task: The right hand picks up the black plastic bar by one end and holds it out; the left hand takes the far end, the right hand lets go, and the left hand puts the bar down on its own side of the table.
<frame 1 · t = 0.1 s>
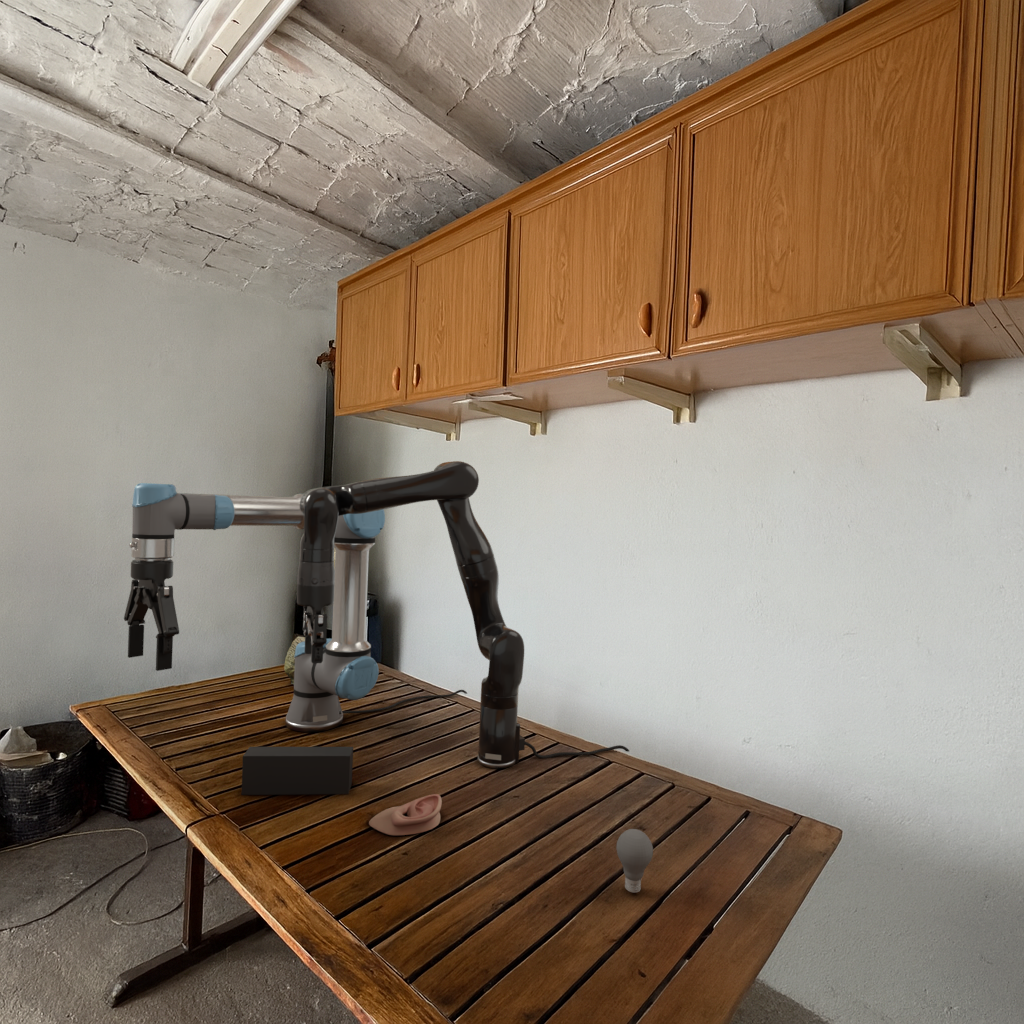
left hand: (149, 662, 129), 28 cm above the table, tool pointing down, fingers open, 13 cm apart
right hand: (313, 657, 135), 29 cm above the table, tool pointing down, fingers open, 8 cm apart
light bulb: (632, 891, 106), on the table
anatomical model: (405, 822, 125), on the table
fossil: (312, 681, 215), on the table
bar: (298, 789, 137), on the table
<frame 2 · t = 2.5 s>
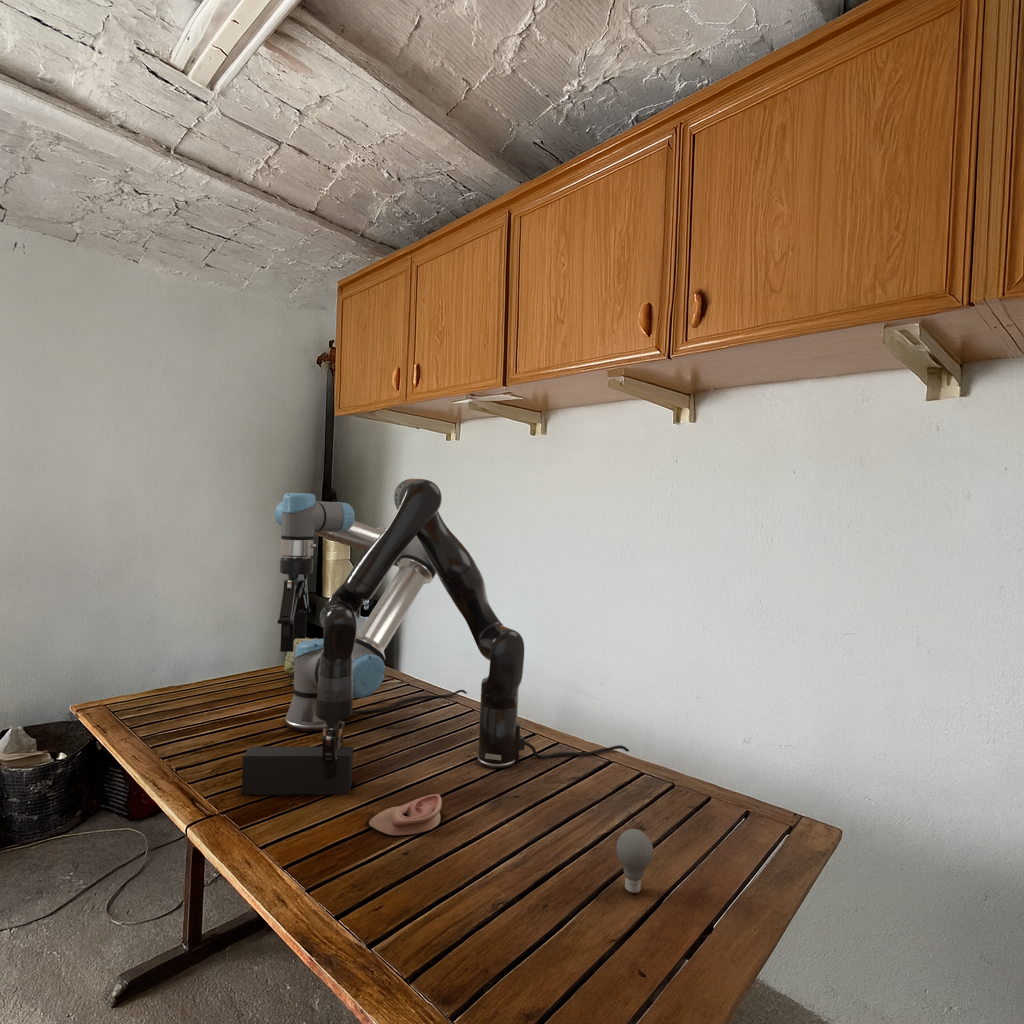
left hand: (293, 644, 153), 27 cm above the table, tool pointing down, fingers open, 13 cm apart
right hand: (332, 771, 137), 4 cm above the table, tool pointing down, fingers closed on bar, 5 cm apart
bar: (298, 789, 137), on the table, touching right hand
everything else where it was.
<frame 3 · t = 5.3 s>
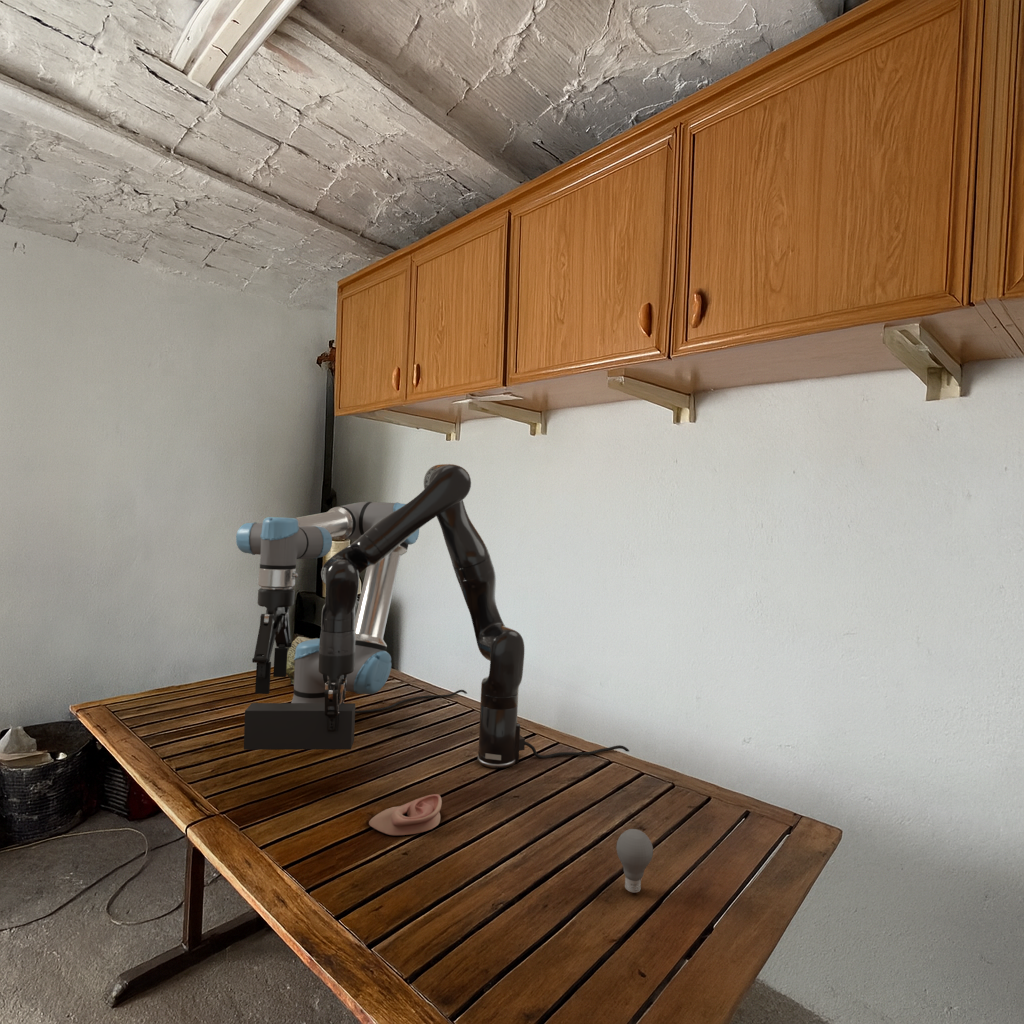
left hand: (271, 684, 139), 22 cm above the table, tool pointing down, fingers open, 13 cm apart
right hand: (334, 727, 137), 13 cm above the table, tool pointing down, fingers closed on bar, 5 cm apart
bar: (300, 744, 137), point 10 cm above the table, touching right hand
everything else where it was.
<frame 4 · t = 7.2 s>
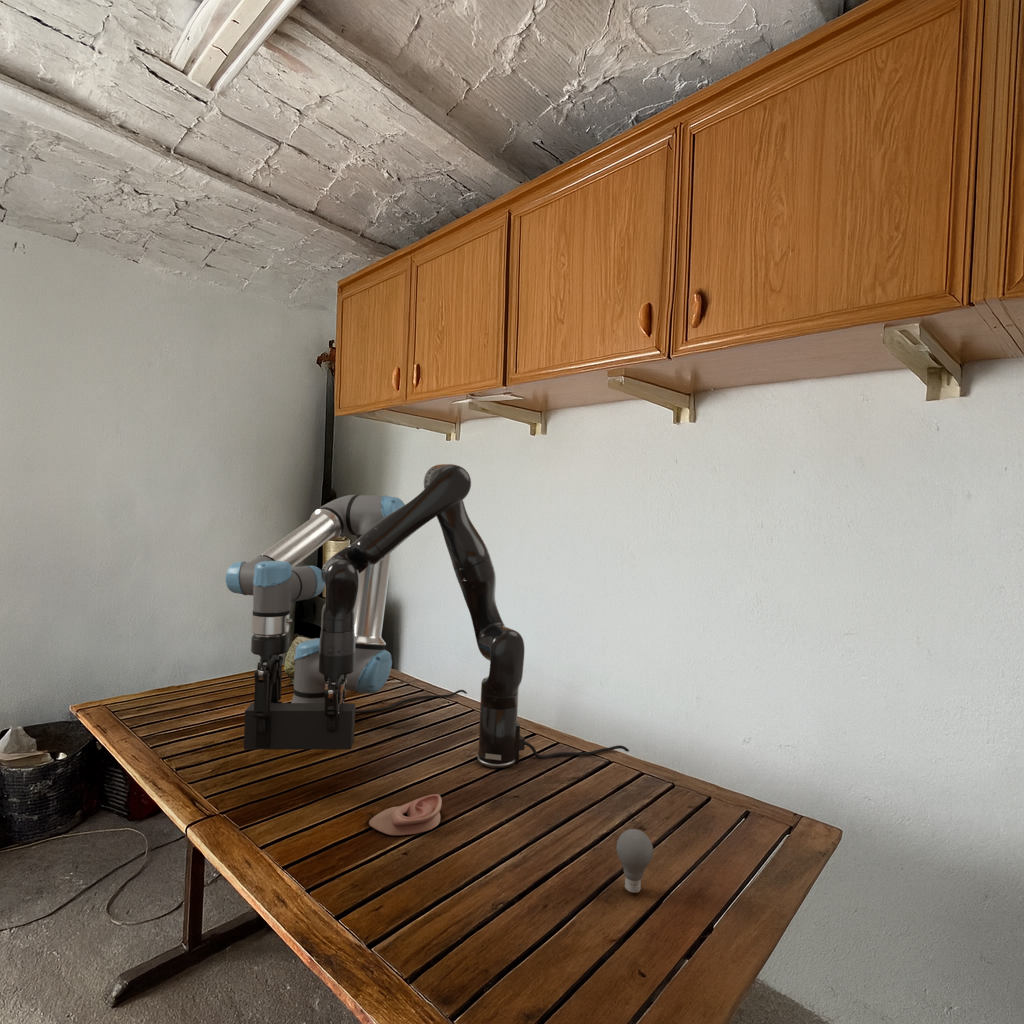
left hand: (266, 741, 136), 10 cm above the table, tool pointing down, fingers closed on bar, 5 cm apart
right hand: (334, 727, 137), 13 cm above the table, tool pointing down, fingers closed on bar, 5 cm apart
bar: (300, 744, 137), point 10 cm above the table, touching left hand, right hand
everything else where it was.
when the right hand's fingers open (13 cm above the table, at t = 8.0 s): bar stays where it is, held by the left hand.
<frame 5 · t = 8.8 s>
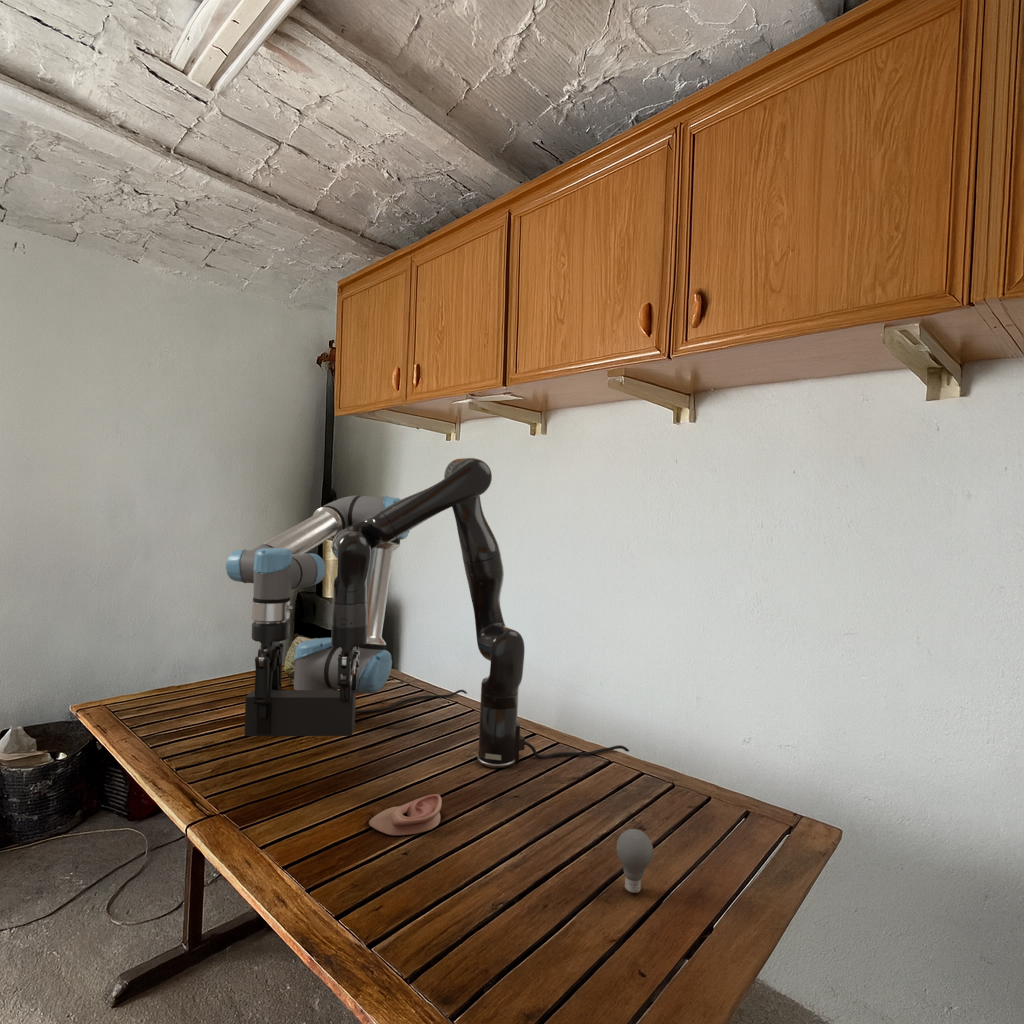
left hand: (267, 728, 136), 13 cm above the table, tool pointing down, fingers closed on bar, 5 cm apart
right hand: (348, 696, 138), 20 cm above the table, tool pointing down, fingers open, 8 cm apart
bar: (301, 731, 137), point 12 cm above the table, touching left hand
everything else where it was.
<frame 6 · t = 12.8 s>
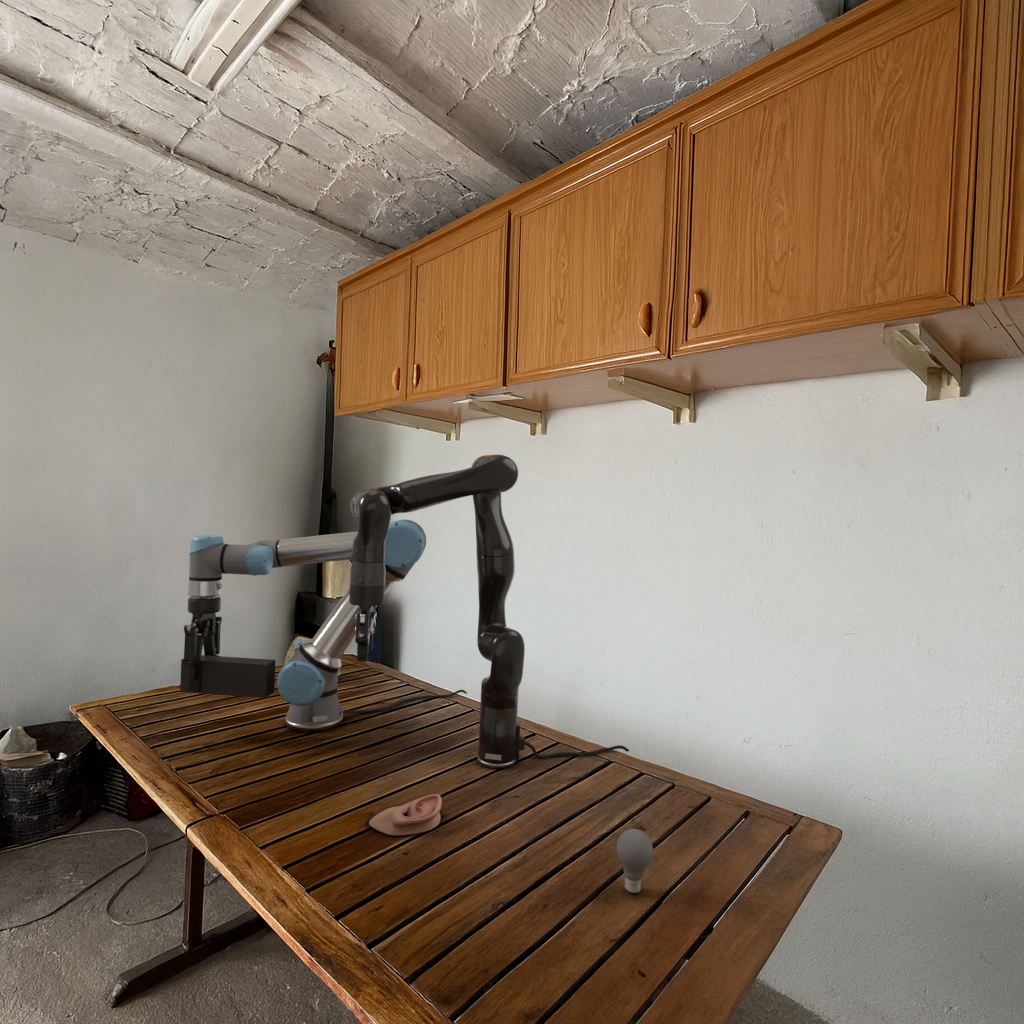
left hand: (201, 687, 161), 13 cm above the table, tool pointing down, fingers closed on bar, 5 cm apart
right hand: (364, 656, 138), 29 cm above the table, tool pointing down, fingers open, 8 cm apart
bar: (227, 692, 160), point 13 cm above the table, touching left hand
everything else where it was.
when the left hand's fingers open (2 cm above the table, at t = 18.3 s): bar drops 1 cm, on the table.
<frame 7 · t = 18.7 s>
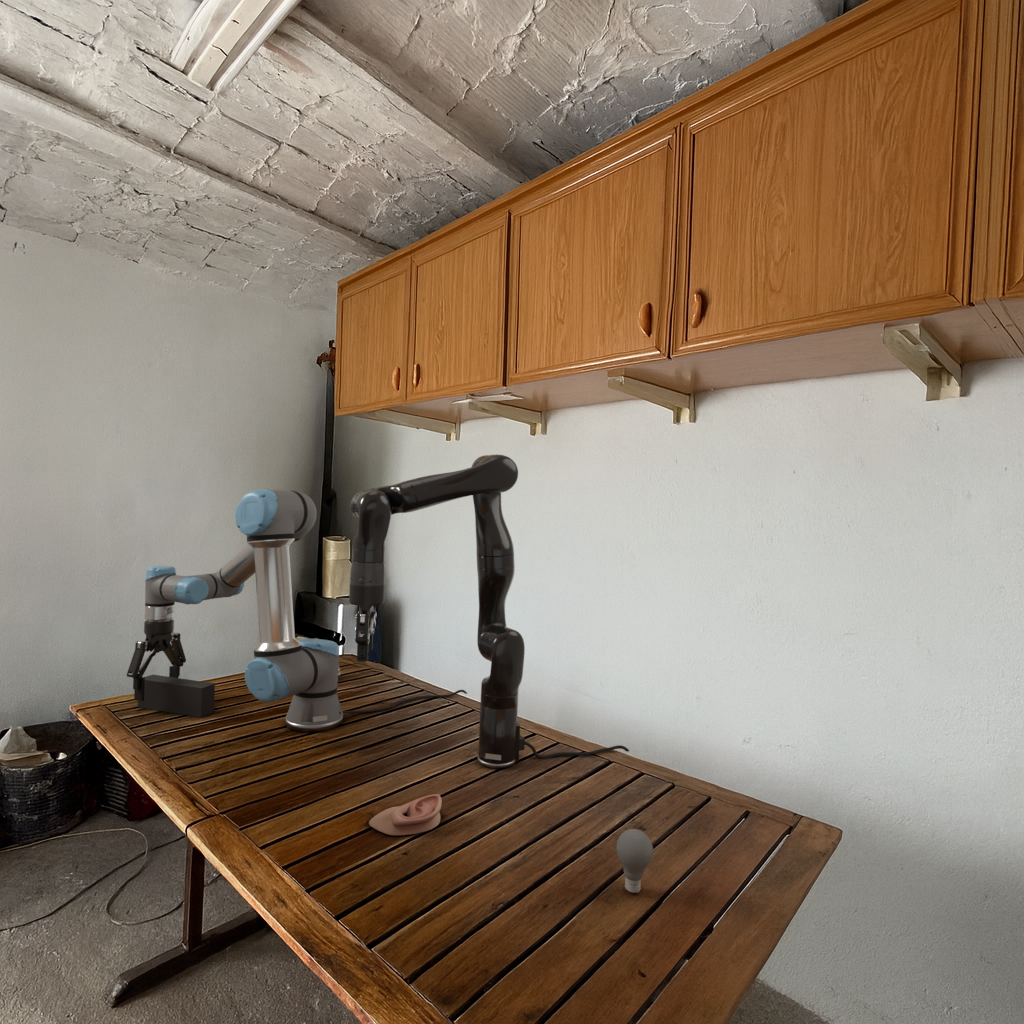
left hand: (156, 694, 184), 4 cm above the table, tool pointing down, fingers open, 11 cm apart
right hand: (364, 656, 138), 29 cm above the table, tool pointing down, fingers open, 8 cm apart
bar: (175, 709, 182), on the table
everything else where it was.
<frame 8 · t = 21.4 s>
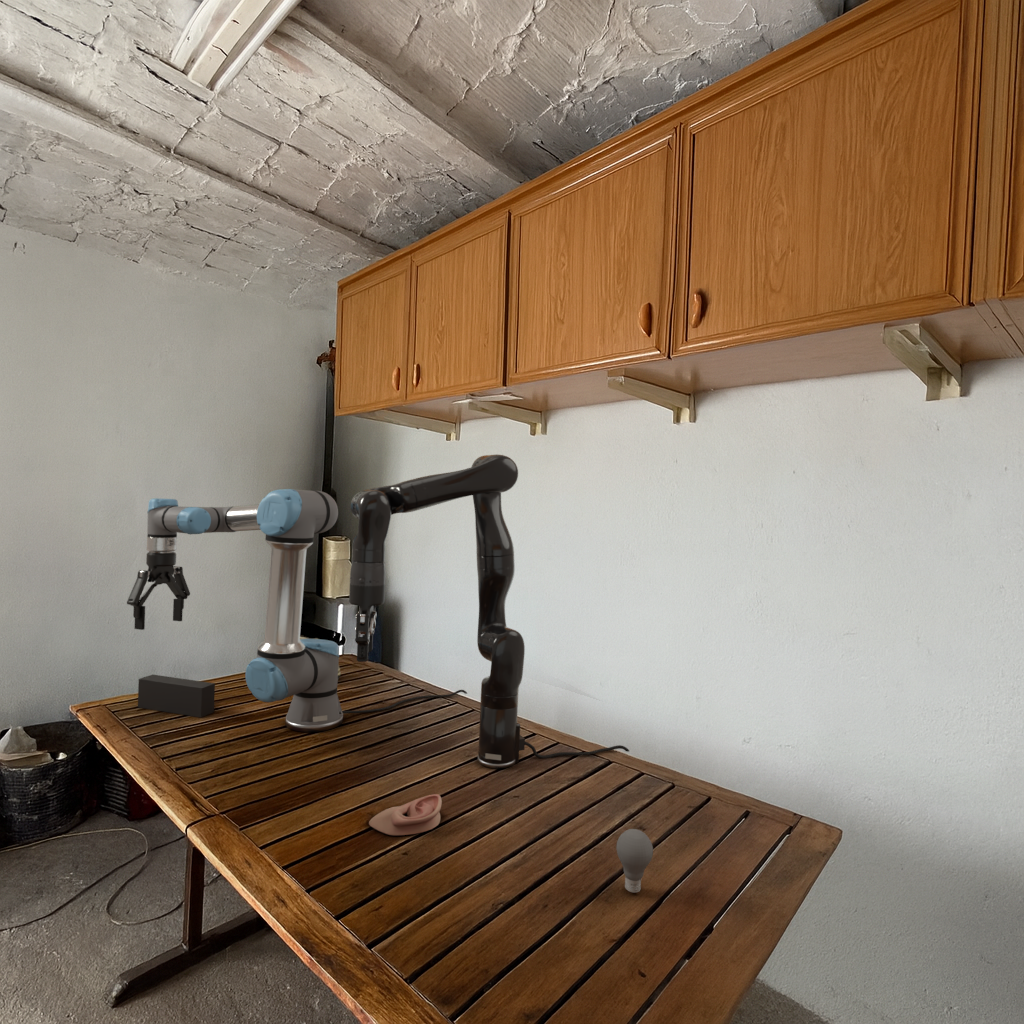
left hand: (159, 624, 183), 24 cm above the table, tool pointing down, fingers open, 13 cm apart
right hand: (364, 656, 138), 29 cm above the table, tool pointing down, fingers open, 8 cm apart
nothing on the table moved.
at the end: bar inside the target area (7.0 cm from its centre), on the table; the left hand is holding nothing; the right hand is holding nothing; bar at rest at the end (0.0 cm/s) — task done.
